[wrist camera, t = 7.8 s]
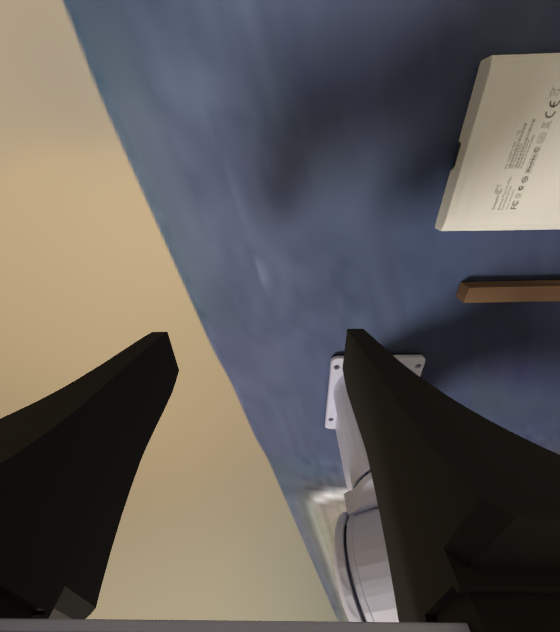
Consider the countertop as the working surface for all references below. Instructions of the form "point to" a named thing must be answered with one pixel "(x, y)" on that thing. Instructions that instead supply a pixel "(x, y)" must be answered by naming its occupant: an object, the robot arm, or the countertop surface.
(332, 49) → the countertop surface
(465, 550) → the robot arm
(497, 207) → the external hard drive
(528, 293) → the dock
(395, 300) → the countertop surface
